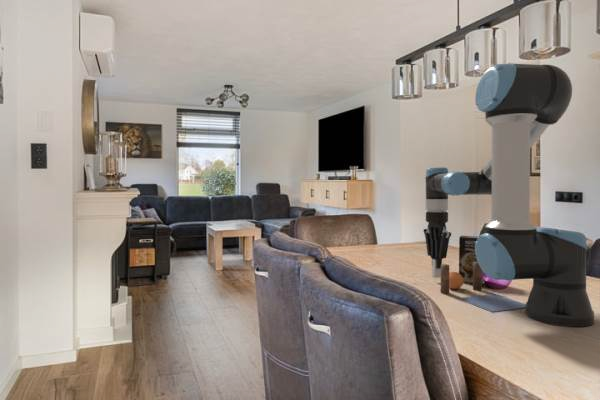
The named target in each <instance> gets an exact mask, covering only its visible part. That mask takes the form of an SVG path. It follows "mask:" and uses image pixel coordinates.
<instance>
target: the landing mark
mask: <svg viewBox="0 0 600 400" xmlns="http://www.w3.org/2000/svg"><path fill="white" fill-rule="evenodd" d="M457 300H460V301H463V302H465V303H467V304H470V305H473V306H475V307H478V308H480V309H483V310H484V311H485V310H486V311H488V312H491V313H496V312H503V311H504V312H505V311H513V310H521V309H525V305H526V303H523V302H520V301H517V300H514V299H511V298H508V297H505V296H501V295H499V294H496V293H493V294H492V293H491V294H484V295H475V296H464V297H457Z"/></svg>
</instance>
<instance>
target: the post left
mask: <svg viewBox="0 0 600 400" xmlns="http://www.w3.org/2000/svg"><path fill="white" fill-rule="evenodd" d="M449 274H450V264H445V263H442V264H441V277H440V293H441V294H443V295H448V294H449V295H450V287H449Z"/></svg>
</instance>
